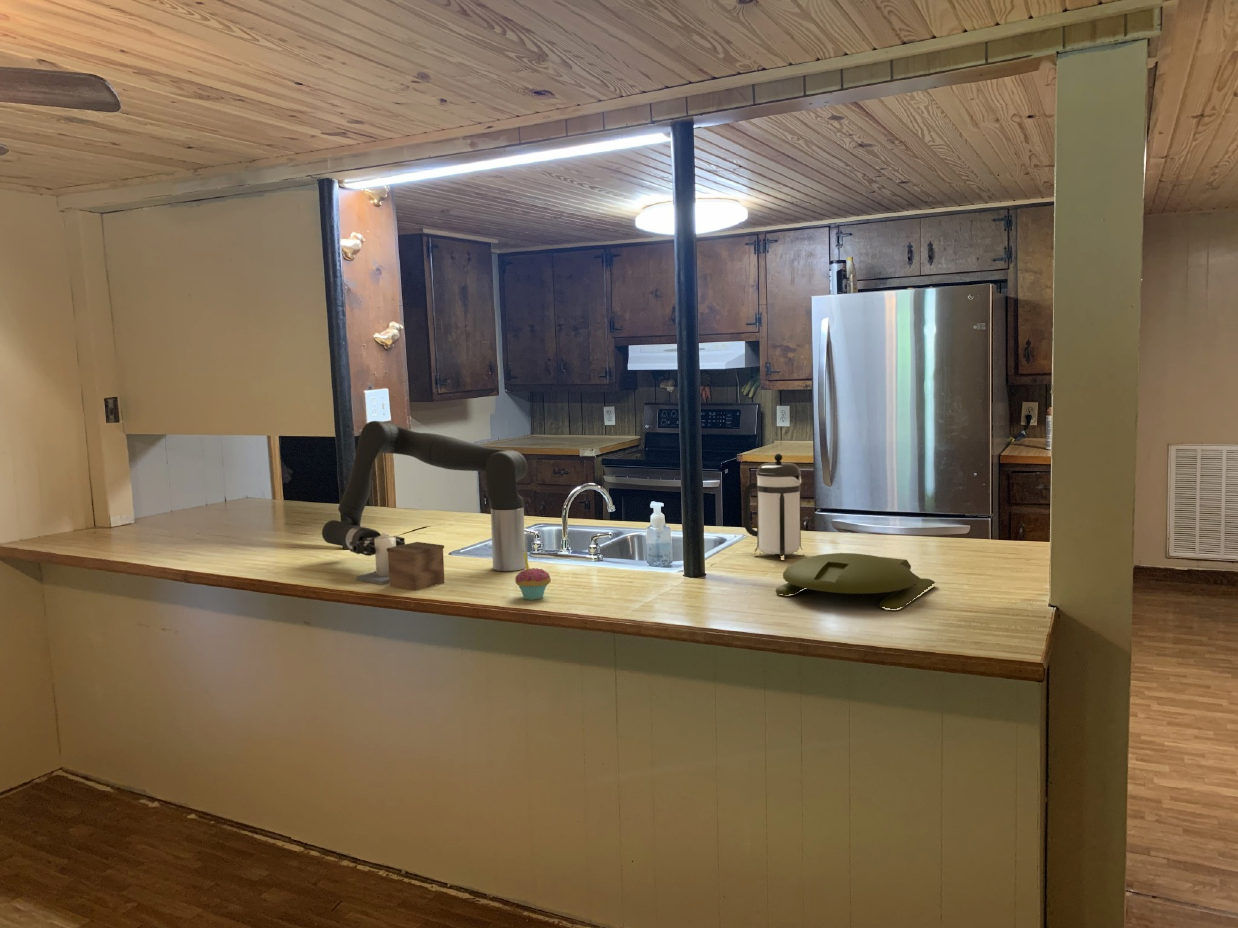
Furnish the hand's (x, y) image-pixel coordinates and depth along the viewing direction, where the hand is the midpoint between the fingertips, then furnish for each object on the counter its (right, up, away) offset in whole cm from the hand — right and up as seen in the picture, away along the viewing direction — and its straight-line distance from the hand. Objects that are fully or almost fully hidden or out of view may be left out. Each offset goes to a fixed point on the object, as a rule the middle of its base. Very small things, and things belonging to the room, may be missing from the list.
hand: (388, 548), depth 241 cm
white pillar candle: (-1, -7, +2) cm, 8 cm away
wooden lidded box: (+9, -9, -6) cm, 14 cm away
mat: (-1, -8, +2) cm, 9 cm away
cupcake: (+41, -10, -23) cm, 48 cm away
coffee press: (+108, -4, +20) cm, 110 cm away
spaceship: (+118, -9, -26) cm, 121 cm away
